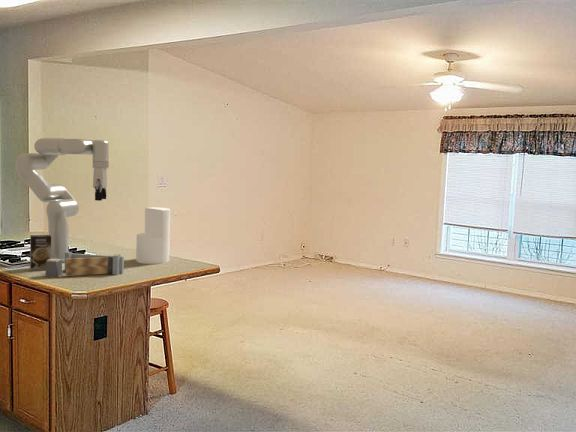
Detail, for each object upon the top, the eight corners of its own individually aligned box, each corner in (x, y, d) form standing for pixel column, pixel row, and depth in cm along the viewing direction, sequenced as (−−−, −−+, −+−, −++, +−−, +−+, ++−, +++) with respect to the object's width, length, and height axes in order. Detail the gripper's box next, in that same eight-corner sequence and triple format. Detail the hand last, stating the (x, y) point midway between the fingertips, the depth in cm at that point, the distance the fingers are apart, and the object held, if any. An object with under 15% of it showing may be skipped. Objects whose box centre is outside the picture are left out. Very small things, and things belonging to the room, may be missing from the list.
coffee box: (30, 270, 260) (30, 236, 258) (29, 268, 266) (29, 234, 264) (51, 269, 264) (51, 236, 262) (50, 267, 270) (50, 234, 268)
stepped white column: (157, 256, 309) (158, 206, 306) (175, 261, 297) (177, 209, 294) (129, 259, 297) (130, 207, 294) (147, 265, 285) (148, 211, 282)
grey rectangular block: (45, 276, 250) (45, 260, 249) (51, 274, 255) (51, 258, 254) (56, 277, 249) (56, 260, 248) (61, 275, 254) (61, 258, 253)
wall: (62, 271, 262) (62, 252, 261) (67, 269, 266) (67, 250, 265) (119, 275, 260) (120, 256, 259) (123, 273, 264) (123, 254, 263)
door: (112, 272, 262) (112, 256, 261) (112, 273, 260) (112, 256, 260) (65, 274, 253) (66, 257, 253) (66, 275, 252) (66, 258, 251)
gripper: (96, 164, 282) (97, 198, 283) (88, 165, 265) (88, 200, 266) (112, 165, 282) (112, 198, 284) (104, 165, 265) (104, 201, 267)
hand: (100, 199), depth 275 cm, fingers open, 9 cm apart
